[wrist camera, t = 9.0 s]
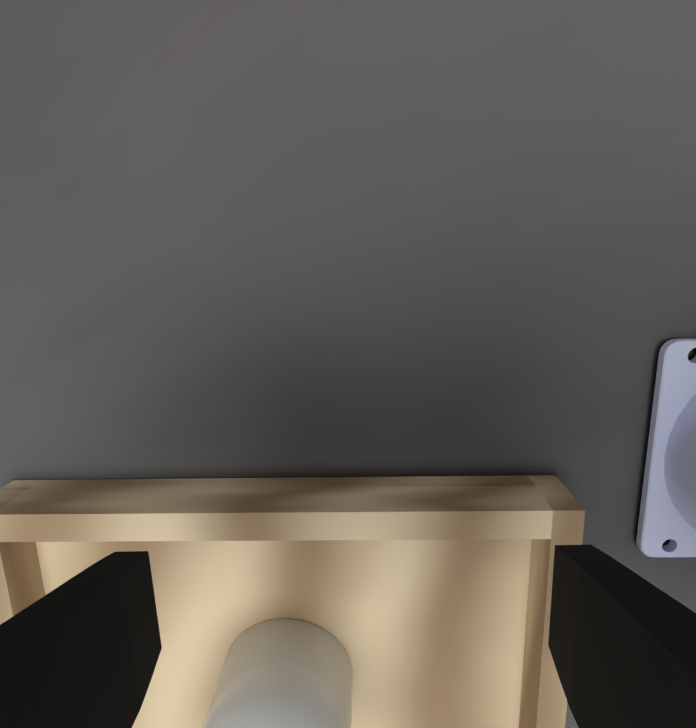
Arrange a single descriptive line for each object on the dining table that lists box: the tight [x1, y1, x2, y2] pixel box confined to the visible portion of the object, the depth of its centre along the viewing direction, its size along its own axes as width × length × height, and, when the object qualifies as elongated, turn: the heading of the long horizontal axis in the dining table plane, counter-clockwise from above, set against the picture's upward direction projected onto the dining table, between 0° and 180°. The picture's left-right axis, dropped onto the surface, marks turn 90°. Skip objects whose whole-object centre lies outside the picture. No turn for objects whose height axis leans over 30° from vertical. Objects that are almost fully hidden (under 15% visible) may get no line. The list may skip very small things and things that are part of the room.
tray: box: [0, 475, 585, 728], centre depth 19 cm, size 20×16×2 cm
